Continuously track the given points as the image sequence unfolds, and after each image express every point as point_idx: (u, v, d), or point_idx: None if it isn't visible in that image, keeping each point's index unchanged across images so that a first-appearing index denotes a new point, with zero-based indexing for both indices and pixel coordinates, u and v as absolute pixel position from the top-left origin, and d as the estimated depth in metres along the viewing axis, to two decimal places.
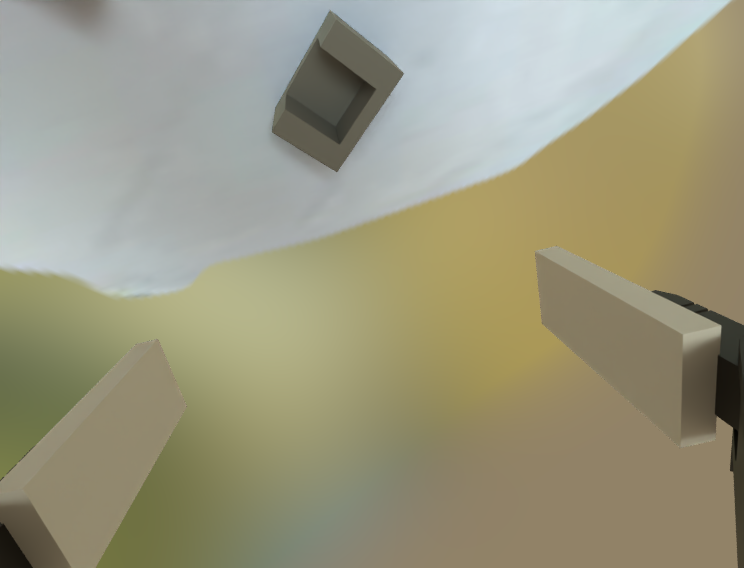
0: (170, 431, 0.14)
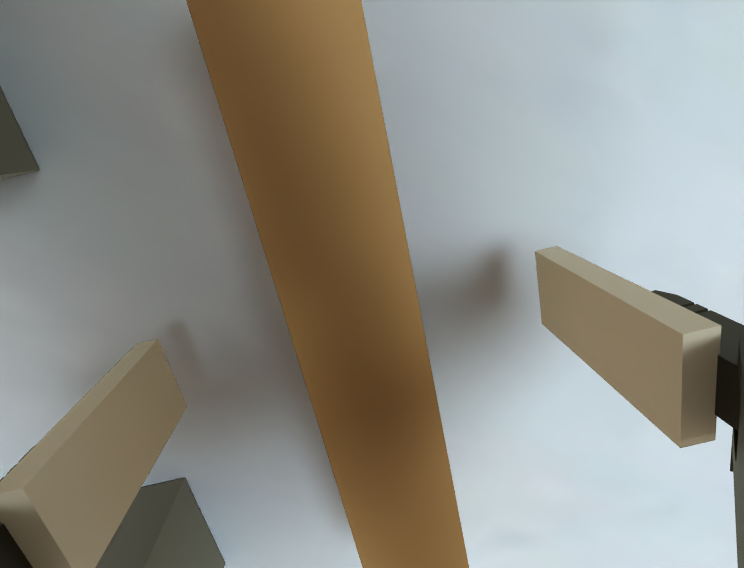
0: (170, 430, 0.14)
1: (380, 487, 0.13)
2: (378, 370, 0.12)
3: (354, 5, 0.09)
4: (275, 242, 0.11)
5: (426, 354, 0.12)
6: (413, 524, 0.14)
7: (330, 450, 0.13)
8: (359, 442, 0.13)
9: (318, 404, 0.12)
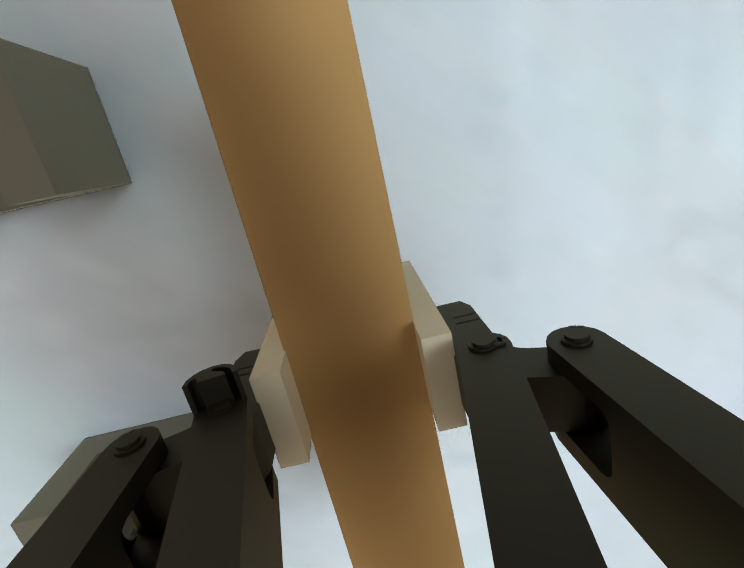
0: None
1: (377, 509, 0.13)
2: (374, 391, 0.12)
3: (346, 31, 0.09)
4: (269, 264, 0.11)
5: (422, 374, 0.12)
6: (411, 546, 0.14)
7: (326, 471, 0.13)
8: (355, 463, 0.13)
9: (314, 425, 0.12)
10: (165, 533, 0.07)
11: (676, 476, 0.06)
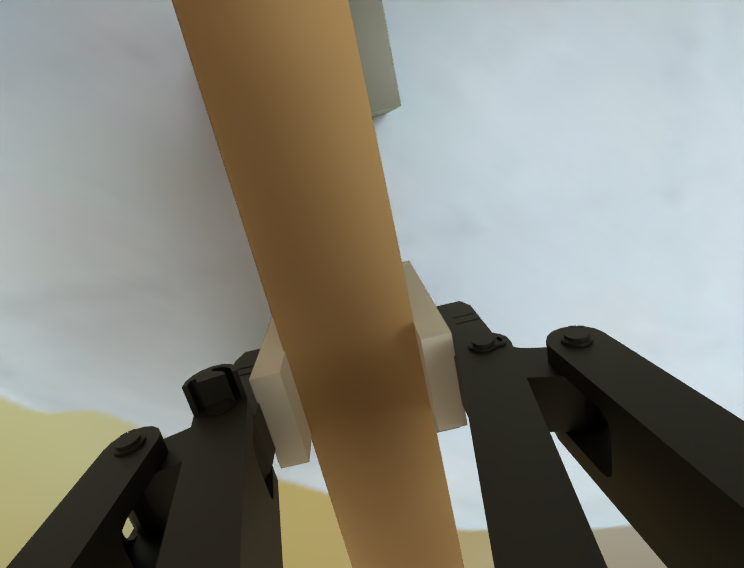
0: None
1: (378, 511, 0.13)
2: (374, 393, 0.12)
3: (347, 32, 0.09)
4: (269, 265, 0.11)
5: (423, 376, 0.12)
6: (411, 548, 0.14)
7: (326, 473, 0.13)
8: (356, 465, 0.13)
9: (314, 427, 0.12)
10: (165, 533, 0.07)
11: (676, 476, 0.06)
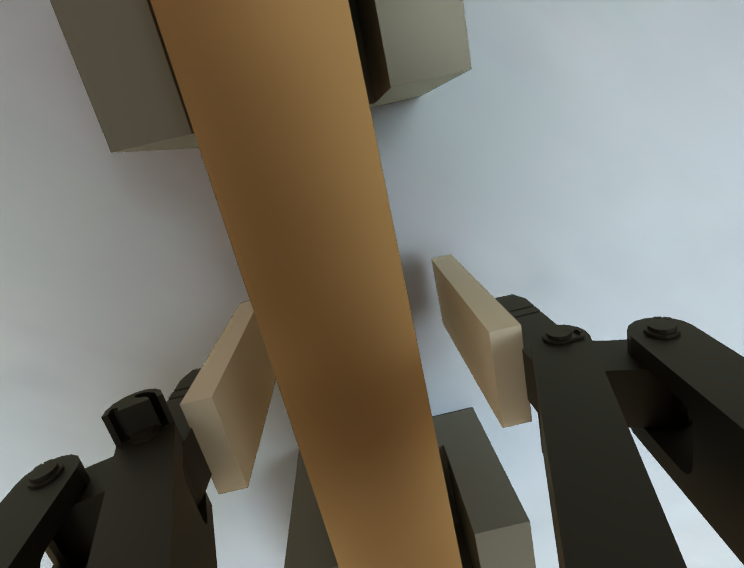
0: (273, 379, 0.16)
1: (377, 544, 0.12)
2: (374, 420, 0.11)
3: (345, 28, 0.08)
4: (260, 284, 0.10)
5: (427, 402, 0.11)
6: None
7: (322, 505, 0.12)
8: (354, 495, 0.12)
9: (309, 457, 0.11)
10: None
11: None
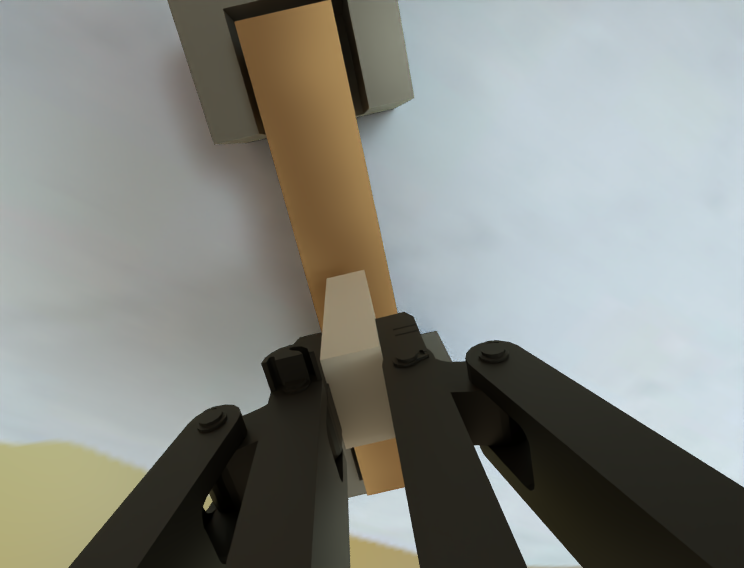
0: None
1: None
2: None
3: (343, 80, 0.16)
4: (297, 217, 0.18)
5: (391, 289, 0.19)
6: None
7: None
8: None
9: None
10: (242, 505, 0.07)
11: (590, 487, 0.06)
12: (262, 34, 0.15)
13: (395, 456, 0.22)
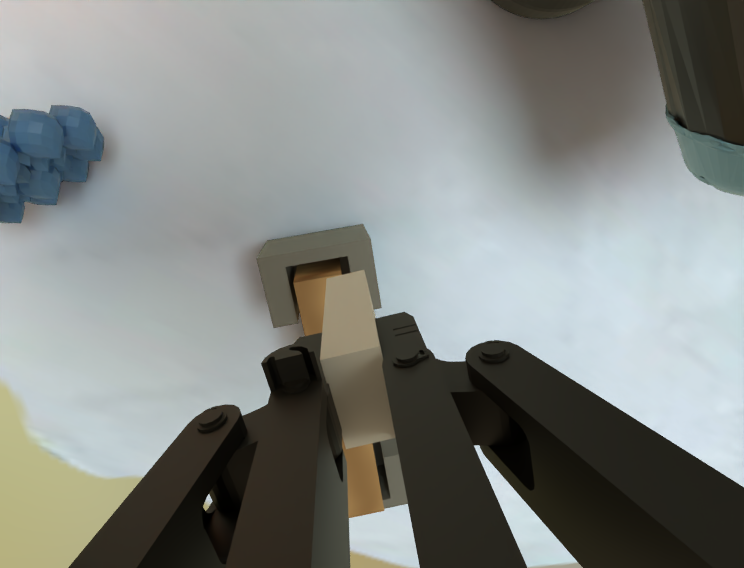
0: None
1: (346, 454, 0.36)
2: None
3: None
4: None
5: None
6: (358, 469, 0.36)
7: None
8: None
9: None
10: (242, 505, 0.07)
11: (591, 487, 0.06)
12: (307, 288, 0.31)
13: (362, 496, 0.37)
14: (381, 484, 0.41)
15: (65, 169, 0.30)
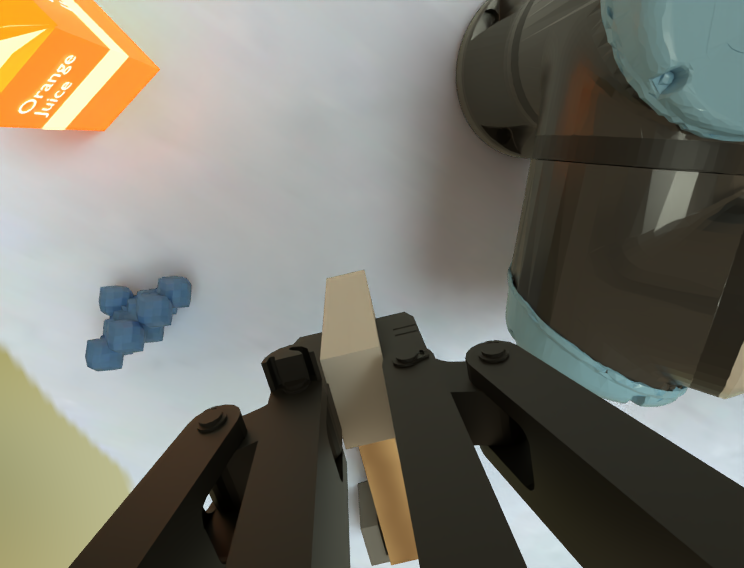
0: None
1: (390, 516, 0.44)
2: (390, 484, 0.43)
3: None
4: (364, 455, 0.42)
5: None
6: (400, 527, 0.45)
7: (376, 506, 0.44)
8: (384, 503, 0.44)
9: (373, 493, 0.43)
10: (242, 505, 0.07)
11: (590, 487, 0.06)
12: None
13: (404, 547, 0.46)
14: None
15: None
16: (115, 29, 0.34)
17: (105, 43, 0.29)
